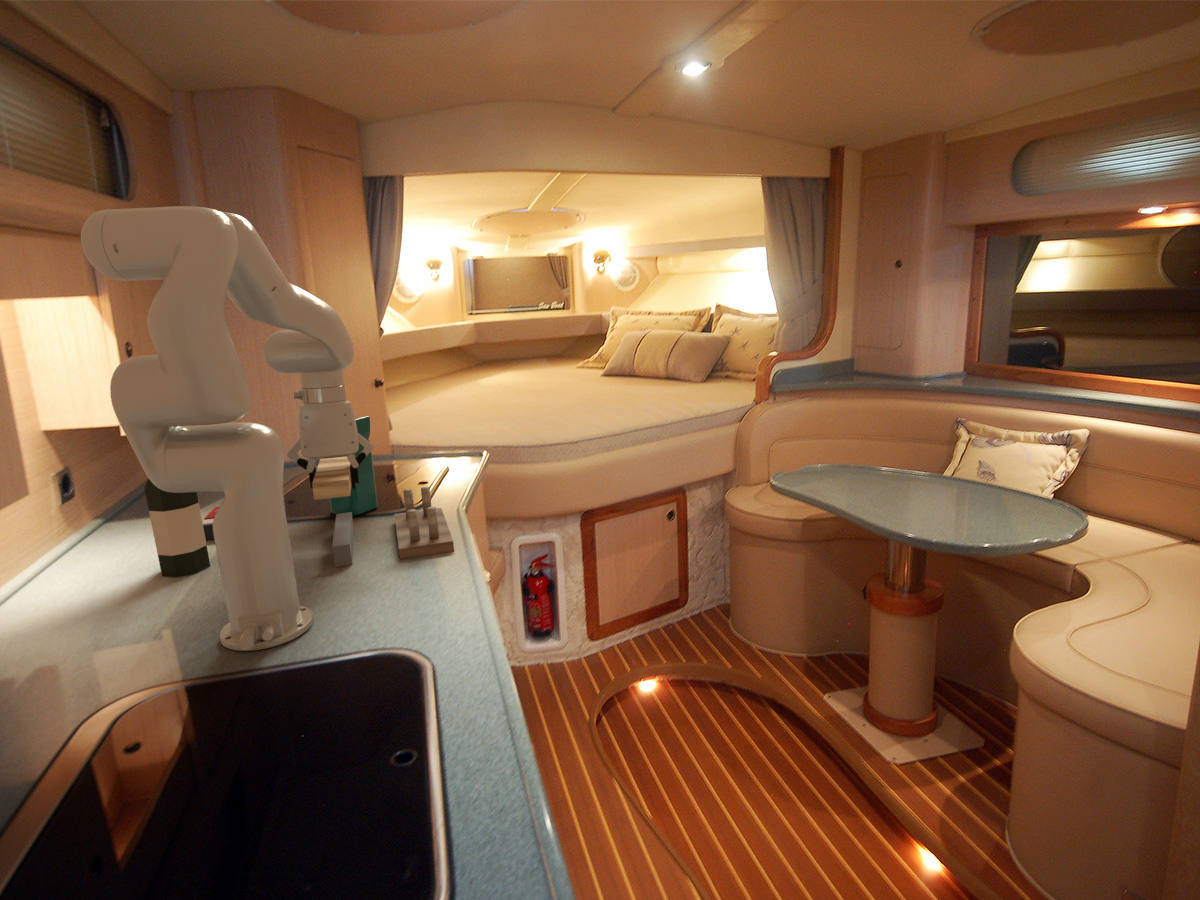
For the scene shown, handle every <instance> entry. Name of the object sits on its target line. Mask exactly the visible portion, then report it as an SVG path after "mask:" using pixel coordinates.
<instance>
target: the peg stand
mask: <svg viewBox="0 0 1200 900" xmlns="http://www.w3.org/2000/svg"><path fill="white" fill-rule="evenodd" d="M402 492H403V501H404V510H405V512H399V513H394V514H393V515H394V521H395V524H394V525H395V530H396V538H397V539H396V540H397V547H398V553H399V554H398V555H399V560H403V559H404V560H405V559H410V558H416V557H423V556H429V555H435V554H436V555H438V554H443V553H450V552H454V551H455V547H454V540H453V537H452V534H451V531H450V529H449V525H448V522H447V520H446V517H445V514H444V512H443V509H442V507H438V508H437V507H436V506H432V497H431V490H430V486H422V487H420V493H421V502H422V503H421V505H422V510H418V509H415V505H414V496H413V495H414V494H413V489H412V488H404V489H403V490H402Z"/></svg>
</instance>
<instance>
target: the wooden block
mask: <svg viewBox="0 0 1200 900" xmlns="http://www.w3.org/2000/svg"><path fill="white" fill-rule="evenodd" d="M350 464H351V463H350V462H349V460H348V458H347V456H346V457H336V458H326V459H324V458H319V462H318V465H317V467H316V469H317V470H316V473H315V476H314V479H313V482H312V487H313V488H312V492H313V500H314V501H316V500H326V499H329V498H336V497H345V496H350V494H351V485H352V483H351V474H350Z"/></svg>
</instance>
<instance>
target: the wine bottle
mask: <svg viewBox="0 0 1200 900" xmlns="http://www.w3.org/2000/svg"><path fill="white" fill-rule="evenodd" d="M144 494H145V498H146V505H147V508H148V513H149V519H150V524H151V527H152V532H153V538H154V543H155V548H156V553H157V558H158V564H159V569H160V572H161V577H167V578H180V577H184V576H185V577H186V576H189V575H194V574H198V573H199V572H202V571H204V570H206V569H207V568H209V567H211V564H210V563H211V561H210V557H209V551H208V546H207V545H208V544H207V541H206V539H205V534H204V528H203V523H202V521H203V519H202V513H201V507H200V504H199V503H200V501H199V496H198V492H188V493H173V492H166V491H163V490H161V489H159V488H158V487H156V486H155V485H154V484H153V483H152V482H151V481H150V480H149V478H148V477H147V479H146V481H145V483H144Z"/></svg>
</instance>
